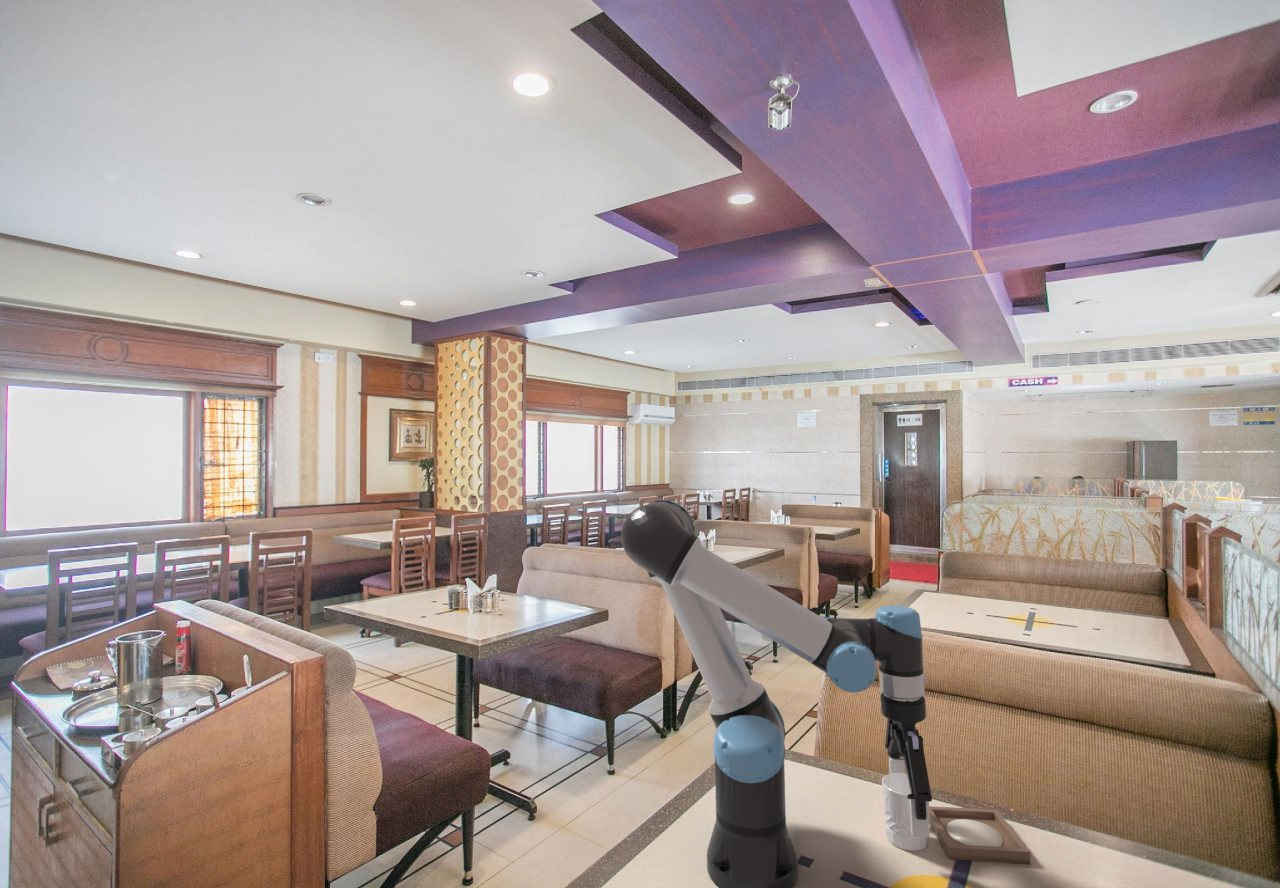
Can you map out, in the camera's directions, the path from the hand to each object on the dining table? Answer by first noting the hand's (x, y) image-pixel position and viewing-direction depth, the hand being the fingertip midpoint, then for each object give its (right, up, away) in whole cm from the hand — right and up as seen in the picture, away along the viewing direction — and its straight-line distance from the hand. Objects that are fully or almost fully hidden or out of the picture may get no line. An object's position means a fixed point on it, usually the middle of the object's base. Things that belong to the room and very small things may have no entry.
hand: (908, 813), depth 114 cm
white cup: (0, -5, 0) cm, 5 cm away
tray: (+12, -5, 0) cm, 13 cm away
